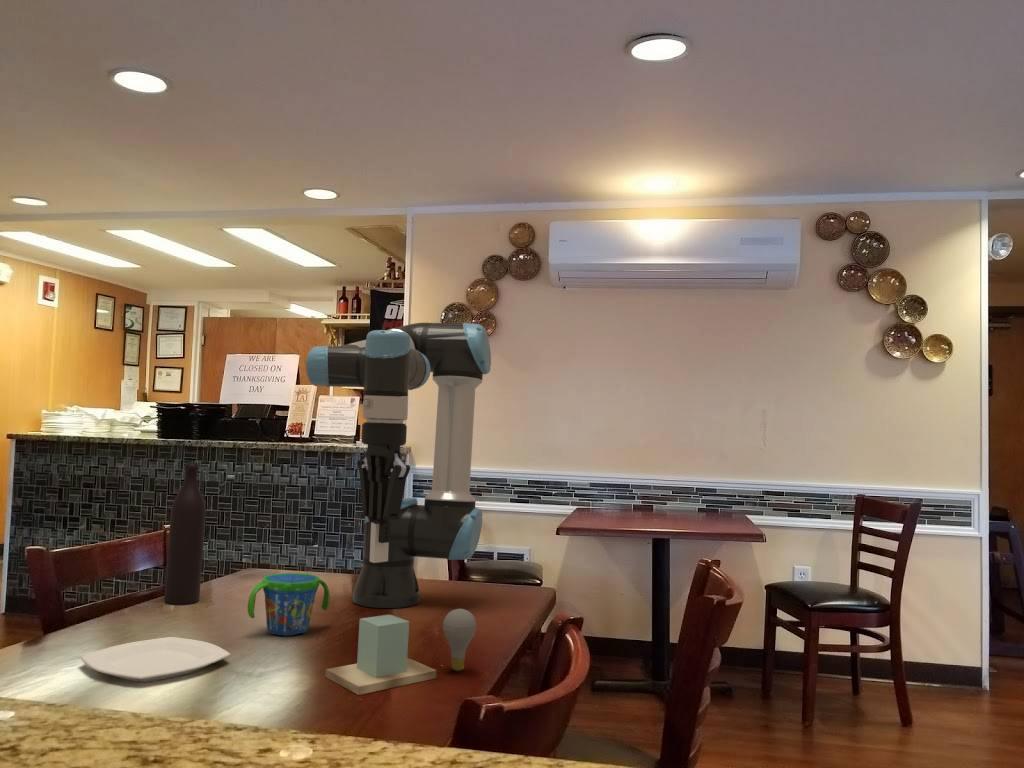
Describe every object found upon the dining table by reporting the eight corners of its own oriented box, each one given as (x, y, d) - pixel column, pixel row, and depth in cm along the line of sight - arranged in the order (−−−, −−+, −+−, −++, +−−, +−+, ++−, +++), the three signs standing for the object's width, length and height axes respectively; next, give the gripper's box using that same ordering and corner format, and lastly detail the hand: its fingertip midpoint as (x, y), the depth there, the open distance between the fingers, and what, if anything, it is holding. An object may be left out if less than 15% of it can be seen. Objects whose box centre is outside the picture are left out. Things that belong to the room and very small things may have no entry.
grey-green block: (356, 668, 119) (359, 618, 120) (387, 662, 123) (389, 614, 124) (375, 677, 115) (378, 626, 116) (406, 671, 119) (409, 621, 119)
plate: (135, 696, 107) (136, 682, 108) (61, 669, 118) (62, 656, 118) (246, 665, 124) (247, 653, 124) (173, 644, 134) (174, 632, 134)
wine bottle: (206, 601, 166) (216, 463, 168) (176, 606, 160) (187, 463, 162) (186, 596, 170) (196, 461, 172) (157, 601, 164) (167, 462, 166)
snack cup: (318, 621, 153) (321, 570, 153) (337, 634, 144) (340, 579, 144) (238, 629, 144) (242, 575, 145) (253, 643, 135) (257, 585, 136)
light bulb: (440, 665, 127) (443, 604, 127) (473, 666, 127) (476, 605, 128) (440, 676, 121) (443, 612, 122) (474, 676, 122) (477, 613, 122)
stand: (401, 662, 128) (403, 618, 128) (436, 678, 120) (438, 631, 121) (325, 677, 118) (328, 629, 119) (358, 695, 111) (361, 644, 111)
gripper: (345, 419, 131) (339, 557, 130) (387, 422, 122) (380, 570, 121) (382, 420, 136) (376, 552, 136) (425, 423, 127) (419, 565, 126)
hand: (378, 561), depth 128 cm, fingers closed
